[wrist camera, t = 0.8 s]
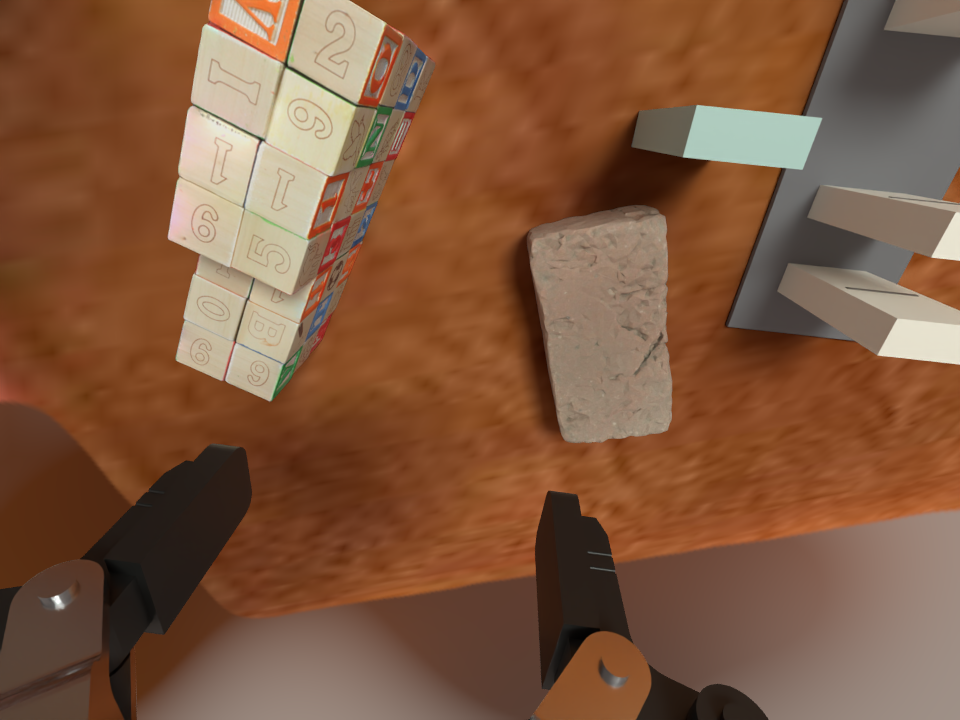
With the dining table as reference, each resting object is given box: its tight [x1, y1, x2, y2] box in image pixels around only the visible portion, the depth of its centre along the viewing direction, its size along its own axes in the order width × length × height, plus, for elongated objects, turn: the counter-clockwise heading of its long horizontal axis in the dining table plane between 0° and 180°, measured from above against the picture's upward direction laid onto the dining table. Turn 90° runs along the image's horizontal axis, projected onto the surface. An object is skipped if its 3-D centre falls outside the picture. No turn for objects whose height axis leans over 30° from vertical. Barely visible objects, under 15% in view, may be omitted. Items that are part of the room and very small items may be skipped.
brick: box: [527, 205, 672, 443], centre depth 33 cm, size 17×8×5 cm, turn 13°
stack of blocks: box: [168, 0, 435, 401], centre depth 26 cm, size 21×6×12 cm, turn 152°
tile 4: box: [807, 185, 960, 260], centre depth 25 cm, size 2×5×10 cm, turn 85°
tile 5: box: [777, 263, 960, 364], centre depth 27 cm, size 2×5×10 cm, turn 85°
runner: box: [726, 0, 960, 341], centre depth 27 cm, size 28×10×1 cm, turn 175°
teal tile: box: [631, 105, 822, 170], centre depth 24 cm, size 2×5×10 cm, turn 85°
